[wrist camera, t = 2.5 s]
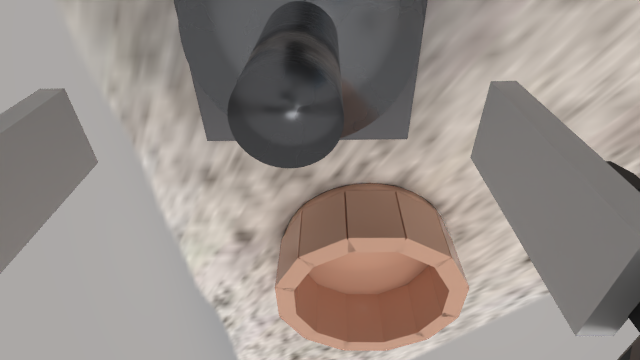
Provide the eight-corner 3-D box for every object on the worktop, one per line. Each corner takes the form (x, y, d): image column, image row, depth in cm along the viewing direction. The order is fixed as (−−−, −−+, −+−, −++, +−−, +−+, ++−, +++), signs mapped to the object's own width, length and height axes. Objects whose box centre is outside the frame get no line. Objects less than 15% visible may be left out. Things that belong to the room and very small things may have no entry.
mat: (152, -114, 15) (146, -114, 15) (441, -121, 15) (445, -122, 15) (209, 135, 23) (207, 140, 22) (405, 133, 22) (407, 138, 22)
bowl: (277, 183, 25) (267, 238, 21) (461, 182, 25) (487, 237, 21) (289, 294, 32) (284, 349, 28) (431, 294, 32) (446, 350, 28)
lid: (152, -108, 15) (0, -115, 8) (439, -115, 15) (540, -128, 8) (209, 137, 22) (155, 248, 15) (404, 136, 22) (440, 248, 15)
